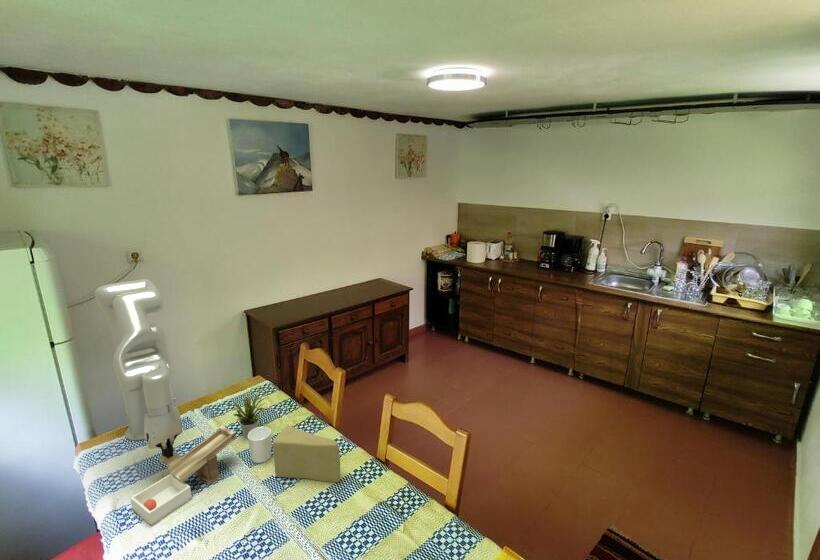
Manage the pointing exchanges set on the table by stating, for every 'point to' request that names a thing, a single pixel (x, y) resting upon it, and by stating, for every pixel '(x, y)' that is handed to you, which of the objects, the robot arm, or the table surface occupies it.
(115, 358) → the robot arm
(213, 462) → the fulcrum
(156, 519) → the dish
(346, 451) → the table surface
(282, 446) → the cheese
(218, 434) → the lever
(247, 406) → the house plant
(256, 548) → the table surface
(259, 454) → the white cup
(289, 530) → the table surface
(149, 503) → the ball
